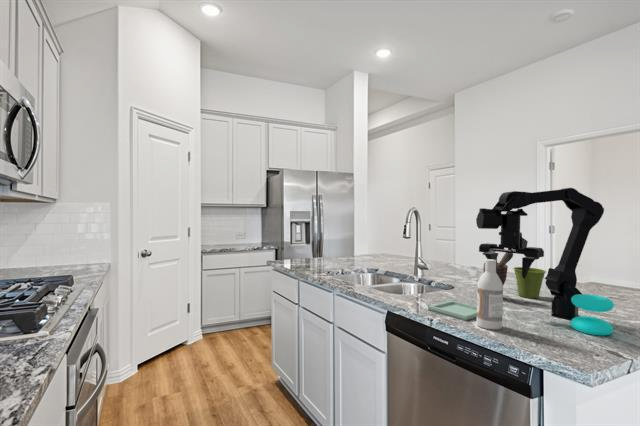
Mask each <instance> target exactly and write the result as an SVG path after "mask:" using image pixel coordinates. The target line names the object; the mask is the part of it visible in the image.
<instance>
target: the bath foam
mask: <svg viewBox="0 0 640 426" xmlns="http://www.w3.org/2000/svg"><path fill="white" fill-rule="evenodd" d="M484 261H485V262H484V263H486V264H485V272H484V274H483V273H482V275H481V276H480V278H479V279H478V283H477V286H476V287H477V288H476V306H477V318H476V325H477V326H478V327H480V328H482V329H485V330H493V331H496V330H498V331H499V330H500V329H502V328H503V306H504V303H503V302H504V301H503V300H504V285H502V282H501V280H500V278H499V276H498V275H497V273H496V260H493V259H487V258H485V259H484Z"/></svg>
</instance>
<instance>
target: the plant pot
mask: <svg viewBox="0 0 640 426" xmlns="http://www.w3.org/2000/svg"><path fill="white" fill-rule="evenodd" d="M512 269H513V271H514V275H515V280H516V287H517V294H518V296H521V297H522V298H527V299H539V297H540V293H541V288H542V283H543V280H544V279H545V274H547V270H545V269H541V268H536V267H530V268H529V271H528V273H527V275H526V278H523V277H522V266H515V267H513V268H512Z"/></svg>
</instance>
